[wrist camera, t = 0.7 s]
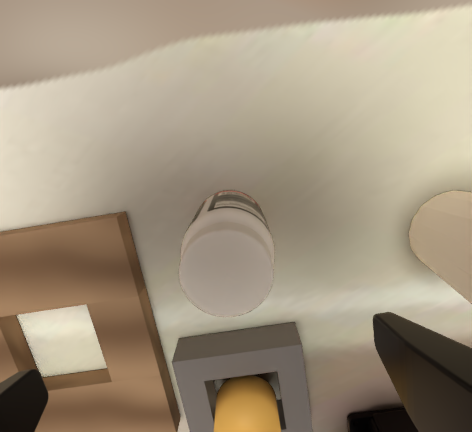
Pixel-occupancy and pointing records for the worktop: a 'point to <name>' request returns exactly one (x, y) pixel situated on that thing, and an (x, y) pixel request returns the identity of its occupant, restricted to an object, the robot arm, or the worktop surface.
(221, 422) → the button
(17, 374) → the robot arm
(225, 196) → the pill bottle
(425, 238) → the white cup
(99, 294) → the brown wooden rectangular frame
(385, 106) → the worktop surface
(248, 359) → the button collar
